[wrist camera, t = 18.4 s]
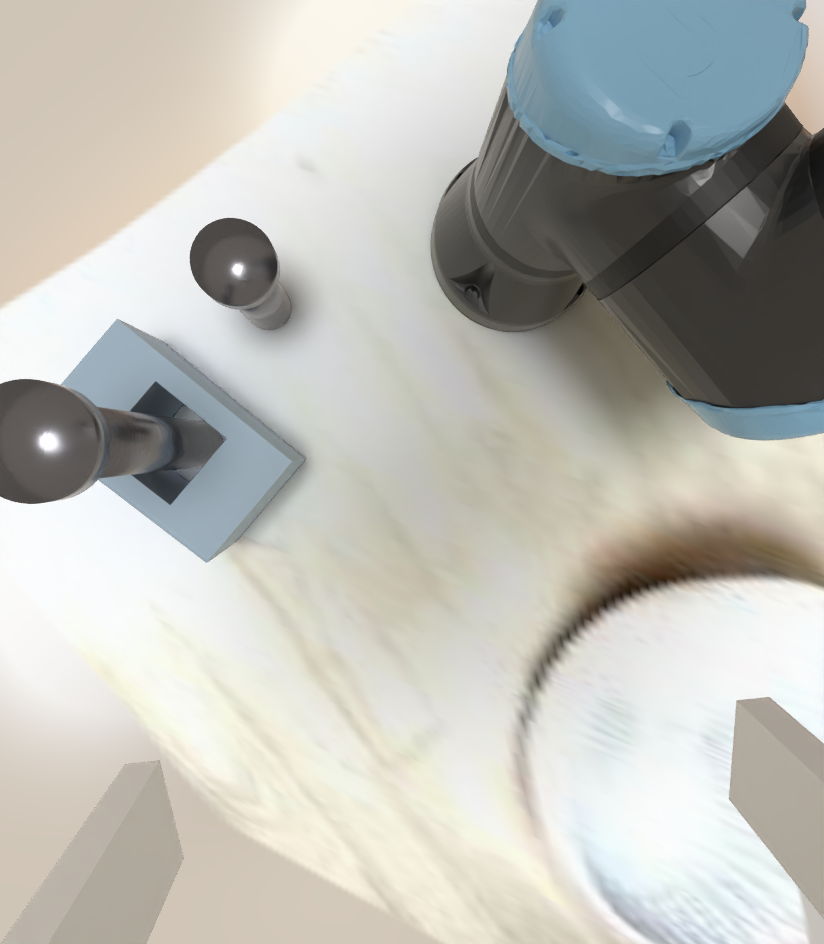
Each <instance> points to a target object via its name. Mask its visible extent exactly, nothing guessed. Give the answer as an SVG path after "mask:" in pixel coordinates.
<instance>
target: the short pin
mask: <svg viewBox="0 0 824 944" xmlns="http://www.w3.org/2000/svg"><path fill="white" fill-rule="evenodd" d="M190 266H191V270H192V273H193V276H194V278H195V280H196V282H197V283H198V285H199V286H200V287H201V289H202V290H203V291H204V292H206V293H207V294H208V295H209V296H210V297H211V298H212V299H213V300H215V301H216V302H217V303H219V304H221V305H223V306H225V307H228V308H232V309H239V310H240V311H241V312H242V313H243V314H244V315H245V316H246V317H247V318H248V319H249V320H250V321H251V322H252V323H253V324H254V325H255V326H257V327H258V328H261V329H264V330H274V329H277V328H279V327H281V326H283V325H284V324H285V323H286V322H287V320H288V318H289V316H290V313H291V303H290V300H289V298H288V296H287V294H286V292H285V291H284V289H283V287H282V285H281V283H280V282H279V275H280V265H279V260H278V257H277V254H276V252H275V250H274V248H273V246H272V244H271V242H270V240H269V239H268V237H267V236H266V235H265V233H264V232H263V231H262V230H261V229H259V228H258V227H257V226H255V225H254V224H252V223H250V222H248V221H245V220H242V219H237V218H224V219H220V220H216V221H214V222H212V223H210V224H208V225H207V226H205V227H204V228H203V229H202V230H201V231H200V232H199V233H198V235H197V236H196V238H195V240H194V241H193V244H192V247H191V251H190Z"/></svg>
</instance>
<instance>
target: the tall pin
mask: <svg viewBox="0 0 824 944" xmlns="http://www.w3.org/2000/svg"><path fill="white" fill-rule="evenodd" d="M222 444H223V440H222V436H221V434H220V433H219V432H218V431H217V430H216V429H214V428H213V427H212V426H211V425H209V424H208V423H206V422H200V421H193V420H186V419H179V418H172V417H165V416H158V415H151V414H144V413H137V412H130V411H123V410H116V409H109V408H102V407H96V405H95V404H94V403H93V402H92V401H91V400H89V399H88V398H87V397H86V396H84V395H83V394H81V393H80V392H78V391H76V390H74V389H72V388H69V387H67V386H63V385H59V384H55V383H50V382H45V381H40V380H32V379H19V380H12V381H8V382H4V383H2V384H0V496H1V497H3V498H5V499H8V500H11V501H14V502H19V503H27V504H38V503H45V502H51V501H57V500H63V499H67V498H71V497H73V496H76V495H78V494H80V493H82V492H84V491H85V490H87V489H88V488H89V487H91V486H92V485H93V484H94V483H95V482H96V481H97V480H98V479H100V478H108V477H117V476H125V475H133V474H142V473H150V472H159V471H167V470H176V469H184V468H193V467H201V466H204V465H205V464H206V463H207V461H208V460H209V459H210V458H211V457H212V456H213V454H214V453H215V452H216V451H217V450H218V448H219V447H220V446H221V445H222Z"/></svg>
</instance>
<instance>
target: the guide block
mask: <svg viewBox="0 0 824 944" xmlns="http://www.w3.org/2000/svg"><path fill="white" fill-rule="evenodd" d="M61 385H63V386H67V387H69V388H72V389H74V390H76V391H78V392H80V393H81V394H83V395H84V396H86V397H87V398H88V399H89V400H91V401H92V402H93V403H94V404H95V405H96V407H102V408H109V409H116V410H123V411H130V412H137V413H144V414H151V415H158V416H165V417H173V416H174V415H175V413H176V412H177V411H178V410H179V409H180V408H181V406H182V405H183V404H185V405H186V406H187V407H188V408H190V409H191V410H192V411H193V412H195V413H196V414H197V415H198V416H200V417H201V418H202V419H203V420H204V421H206V422H207V423H208V424H209V425H211V426H212V427H213V428H214V429H216V430H217V431H218V432H219V433H221V434H222V435H223V436H224V437H226V438H227V439H226V440H225V441H224V443H223V444H222V445H221V446H220V447H219V448H218V450H217V451H216V452H215V453H214V454H213V456H212V457H211V458H210V459H209V460H208V461H207V463H206V464H205V465H204V466H203V467H202V469H201V470H200V471H199V472H198V473H197V474H196V476H195V477H194V478H193V479H192V480H191V481H190V483H189V482H188V481H187V480H185V479H184V478H183V477H182V476H180V475H179V474H178V473H177V472H175V471H174V470H167V471H159V472H150V473H142V474H133V475H125V476H117V477H108V478H100V479H98V480H99V481H101V482H102V483H103V484H104V485H106V486H107V487H108V488H110V489H111V490H112V491H114V492H115V493H116V494H117V495H119V496H120V497H121V498H123V499H124V500H125V501H127V502H128V503H129V504H130V505H132V506H133V507H134V508H136V509H137V510H138V511H140V512H141V513H142V514H144V515H145V516H146V517H147V518H149V519H150V520H151V521H153V522H154V523H155V524H157V525H158V526H159V527H160V528H162V529H163V530H164V531H166V532H167V533H168V534H170V535H171V536H172V537H173V538H175V539H176V540H177V541H179V542H180V543H181V544H183V545H184V546H185V547H187V548H188V549H189V550H190V551H192V552H193V553H194V554H196V555H197V556H198V557H200V558H201V559H202V560H203V561H205V562H206V563H207V562H209V561H210V560H211V559H213V558H214V557H216V556H217V555H218V554H220V553H221V552H223V551H224V550H226V549H227V548H228V547H230V546H231V545H233V544H234V543H235V542H236V541H237V540H238V539H239V537H240V536H241V535H242V534H243V533H244V532H245V530H246V529H247V528H248V527H249V526H250V524H251V523H252V522H253V521H254V520H255V519H256V517H257V516H258V515H259V514H260V513H261V511H262V510H263V509H264V508H265V507H266V506H267V504H268V503H269V502H270V501H271V500H272V498H273V497H274V496H275V495H276V494H277V493H278V491H279V490H280V489H281V488H282V487H283V485H284V484H285V483H286V482H287V481H288V480H289V478H290V477H291V476H292V475H293V474H294V472H295V471H296V470H297V469H298V468H299V466H300V465H301V464H302V463H303V462H304V461H305V458H304V457H303V456H302V455H300V454H299V453H298V452H297V451H296V450H294V449H293V448H292V447H291V446H290V445H288V444H287V443H286V442H285V441H283V440H282V439H281V438H280V437H279V436H277V435H276V434H275V433H274V432H272V431H271V430H270V429H269V428H268V427H266V426H265V425H264V424H263V423H261V422H260V421H259V420H258V419H257V418H255V417H254V416H253V415H252V414H251V413H249V412H248V411H247V410H246V409H244V408H243V407H242V406H241V405H240V404H238V403H237V402H236V401H235V400H233V399H232V398H231V397H230V396H229V395H227V394H226V393H225V392H224V391H222V390H221V389H220V388H219V387H218V386H216V385H215V384H214V383H213V382H212V381H210V380H209V379H208V378H207V377H205V376H204V375H203V374H202V373H201V372H199V371H198V370H197V369H196V368H194V367H193V366H192V365H191V364H190V363H188V362H187V361H186V360H185V359H183V358H182V357H181V356H180V355H179V354H177V353H176V352H175V351H174V350H173V349H171V348H170V347H169V346H168V345H166V344H165V343H164V342H163V341H161V340H159V339H157V338H155V337H153V336H151V335H149V334H147V333H145V332H143V331H141V330H139V329H137V328H135V327H133V326H131V325H129V324H127V323H125V322H123V321H121V320H119V319H117V320H116V321H115V322H114V323H113V324H112V326H111V327H110V328H109V329H108V330H107V331H106V333H105V334H104V335H103V336H102V337H101V338H100V340H99V341H98V342H97V343H96V344H95V345H94V347H93V348H92V349H91V350H90V351H89V352H88V354H87V355H86V356H85V357H84V358H83V359H82V361H81V362H80V363H79V364H78V365H77V366H76V368H75V369H74V370H73V371H72V372H71V373H70V375H69V376H68V377H67V378H66V379H65V380H64V382H63V383H62V384H61Z"/></svg>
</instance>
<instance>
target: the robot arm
mask: <svg viewBox="0 0 824 944" xmlns="http://www.w3.org/2000/svg"><path fill="white" fill-rule="evenodd" d="M805 9H806V0H538V1H537V3H536V6H535V8H534V10H533V13H532V15H531V17H530V19H529V22H528V24H527V26H526V27H525V29H524V30H523V33H522V34H521V36H520V37H519V39H518V40H517V42H516V44H515V49H514V51H513V52H512V54H511V57H510V59H509V63H508V68H507V76H506V79H505V82H504V85H503V87H502V90H501V93H500V96H499V99H498V102H497V105H496V107H495V110H494V113H493V116H492V119H491V122H490V124H489V127H488V130H487V133H486V136H485V139H484V141H483V144H482V147H481V150H480V153H479V156H478V158H476V159H474V160H473V161H472V162H470V163H469V164H468V165H467V166H465V167H464V168H463V169H462V170H461V171H460V172H459V173H458V174H457V175H456V176H455V178H454V179H453V180H452V181H451V183H450V184H449V186H448V188H447V189H446V191H445V193H444V195H443V197H442V199H441V201H440V203H439V206H438V209H437V213H436V216H435V220H434V224H433V228H432V234H431V256H432V262H433V267H434V270H435V274H436V276H437V279H438V281H439V283H440V285H441V287H442V289H443V291H444V293H445V294H446V296H447V297H448V298H449V300H450V301H451V302H452V303H453V304H454V305H455V307H456V308H457V309H458V310H460V311H461V312H462V313H463V314H464V315H466V316H467V317H468V318H470V319H471V320H473V321H475V322H477V323H479V324H481V325H483V326H486V327H488V328H492V329H496V330H501V331H525V330H530V329H534V328H537V327H540V326H542V325H545V324H547V323H549V322H550V321H552V320H554V319H555V318H557V317H558V316H560V315H561V314H562V313H564V312H565V311H567V310H568V309H569V308H570V307H572V306H573V305H574V304H575V303H576V302H577V301H578V300H579V298H580V297H581V296H582V295H583V294H584V292H585V291H586V290H587V288H589V290H590V291H591V292H592V293H593V294H594V295H595V296H596V298H597V299H598V300H599V302H600V303H601V304H602V305H603V306H604V307H605V309H606V310H607V311H608V312H609V313H610V314H611V316H612V317H613V318H614V319H615V320H616V321H617V323H618V324H619V325H620V326H621V327H622V328H623V330H624V331H625V332H626V333H627V334H628V335H629V337H630V338H631V339H632V340H633V341H634V342H635V343H636V345H637V346H638V347H639V348H640V349H641V350H642V352H643V353H644V354H645V355H646V356H647V357H648V359H649V360H650V361H651V362H652V363H653V364H654V366H655V367H656V368H657V369H658V370H659V371H660V373H661V374H662V375H663V376H664V377H665V378H666V379H667V385H668V387H669V388H670V390H671V391H672V393H673V394H674V395H675V396H676V397H677V398H679V399H681V400H682V401H683V402H685V403H686V404H688V405H689V406H690V407H691V408H692V409H693V410H694V411H695V412H696V413H697V414H698V415H699V416H700V417H701V418H702V419H703V420H704V421H705V422H706V423H707V424H708V425H709V426H711V427H712V428H715V429H716V430H718V431H720V432H722V433H724V434H727V435H730V436H733V437H737V438H742V439H749V440H783V439H792V438H799V437H805V436H811V435H816V434H820V433H824V128H823V129H822V130H821V131H819V132H818V133H816V134H814V135H811V134H810V133H809V132H808V131H807V130H806V129H805V128H804V127H803V125H802V124H801V123H800V122H799V121H798V119H797V118H796V117H795V115H794V114H793V113H792V111H791V110H790V109H789V107H788V106H787V105H786V103H785V102H784V101H785V99H786V97H787V95H788V93H789V92H790V90H791V89H792V87H793V85H794V83H795V81H796V79H797V77H798V75H799V73H800V71H801V68H802V64H803V61H804V59H805V51H806V48H807V46H808V26H807V25H805V24H803V23H800V22H799V21H798V20H799V18H800V17H801V16H802V14H803V13H804V11H805ZM729 800H730V801H731V802H732V804H733V805H734V806H735V807H736V809H737V810H738V811H739V812H740V814H741V815H742V816H743V818H744V819H745V820H746V821H747V823H748V824H749V825H750V826H751V828H752V829H753V830H754V831H755V833H756V834H757V835H758V837H759V838H760V839H761V840H762V842H763V843H764V844H765V845H766V847H767V848H768V849H769V850H770V852H771V853H772V854H773V856H774V857H775V858H776V859H777V861H778V862H779V863H780V864H781V866H782V867H783V868H784V869H785V871H786V872H787V873H788V875H789V876H790V877H791V878H792V880H793V881H794V882H795V883H796V885H797V886H798V887H799V888H800V890H801V891H802V892H803V894H804V895H805V896H806V897H807V898H808V900H809V901H810V902H811V904H812V905H813V906H814V907H815V909H816V910H817V911H818V912H819V914H820V915H821V916H822V918H823V919H824V744H823V743H822V742H821V741H820V740H819V739H818V738H816V737H815V736H814V735H813V734H812V733H811V732H809V731H808V730H807V729H806V728H805V727H804V726H802V725H801V724H800V723H799V722H798V721H797V720H796V719H794V718H793V717H792V716H791V715H790V714H789V713H787V712H786V711H785V710H784V709H783V708H782V707H780V706H779V705H778V704H777V703H776V702H775V701H773V700H772V699H771V698H770V697H765V698H756V699H746V700H737V701H736V714H735V727H734V740H733V753H732V766H731V779H730V792H729ZM183 859H184V857H183V853H182V849H181V845H180V841H179V837H178V833H177V829H176V825H175V820H174V817H173V812H172V808H171V804H170V800H169V796H168V792H167V788H166V784H165V780H164V776H163V772H162V768H161V764H160V761H150V762H141V763H130V764H125V765H124V766H123V768H122V769H121V771H120V772H119V774H118V775H117V777H116V778H115V779H114V781H113V783H112V784H111V785H110V787H109V788H108V790H107V791H106V792H105V794H104V795H103V797H102V798H101V800H100V801H99V803H98V804H97V806H96V807H95V808H94V810H93V811H92V813H91V814H90V816H89V817H88V818H87V820H86V821H85V823H84V824H83V826H82V827H81V828H80V830H79V831H78V833H77V834H76V836H75V837H74V839H73V840H72V842H71V843H70V844H69V846H68V847H67V849H66V850H65V852H64V853H63V855H62V856H61V857H60V859H59V860H58V862H57V863H56V865H55V866H54V868H53V869H52V870H51V872H50V873H49V875H48V876H47V878H46V879H45V880H44V882H43V883H42V885H41V886H40V888H39V889H38V890H37V892H36V893H35V895H34V896H33V898H32V899H31V901H30V902H29V903H28V905H27V906H26V908H25V909H24V911H23V912H22V914H21V915H20V917H19V918H18V919H17V921H16V922H15V924H14V925H13V927H12V928H11V929H10V931H9V932H8V934H7V935H6V937H5V938H4V939H3V941H2V942H1V944H146V943H147V941H148V938H149V936H150V934H151V932H152V929H153V927H154V925H155V922H156V920H157V918H158V916H159V913H160V911H161V909H162V907H163V904H164V902H165V900H166V897H167V895H168V893H169V891H170V888H171V886H172V884H173V881H174V879H175V877H176V875H177V872H178V870H179V868H180V865H181V863H182V861H183Z"/></svg>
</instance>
